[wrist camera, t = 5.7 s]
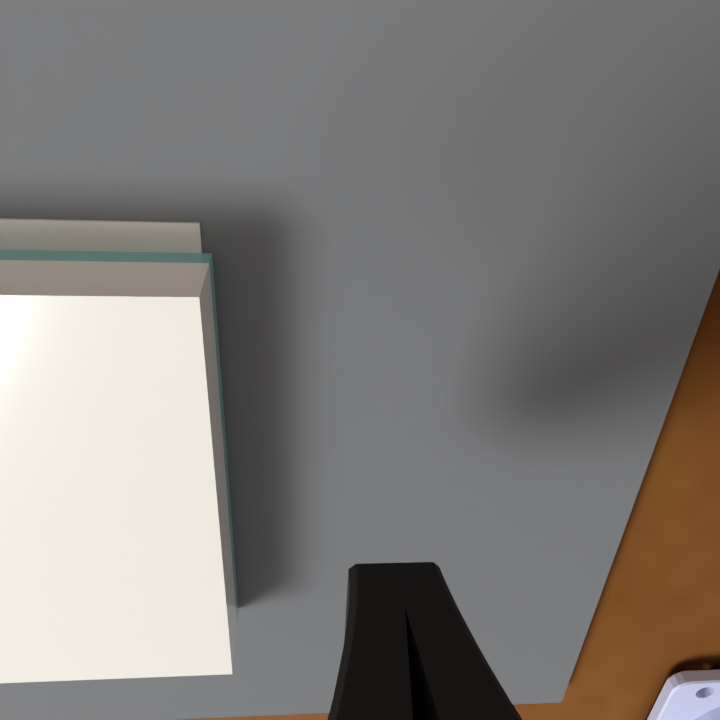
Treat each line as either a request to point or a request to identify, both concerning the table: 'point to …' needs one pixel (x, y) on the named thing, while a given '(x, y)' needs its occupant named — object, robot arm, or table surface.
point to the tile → (113, 469)
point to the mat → (391, 290)
